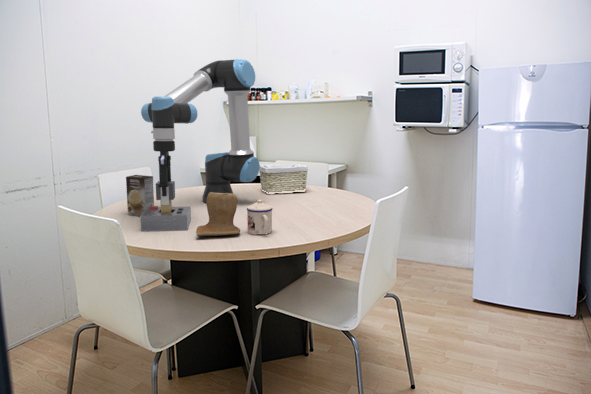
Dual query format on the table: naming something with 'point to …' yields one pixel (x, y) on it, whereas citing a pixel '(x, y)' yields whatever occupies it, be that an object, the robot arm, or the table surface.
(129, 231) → the table surface
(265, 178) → the storage basket
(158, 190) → the plug
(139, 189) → the coffee box
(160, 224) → the socket plate
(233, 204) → the brown wooden upright piece
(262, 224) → the teacup with lid
